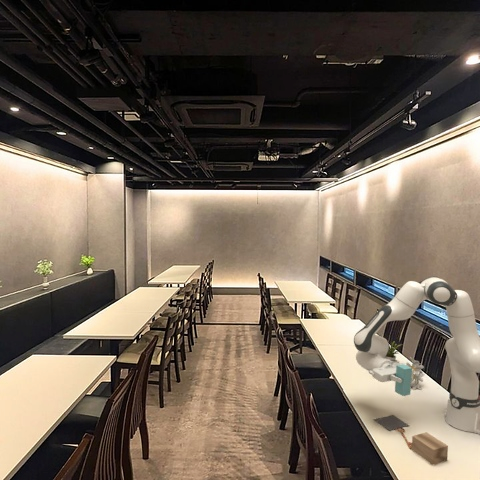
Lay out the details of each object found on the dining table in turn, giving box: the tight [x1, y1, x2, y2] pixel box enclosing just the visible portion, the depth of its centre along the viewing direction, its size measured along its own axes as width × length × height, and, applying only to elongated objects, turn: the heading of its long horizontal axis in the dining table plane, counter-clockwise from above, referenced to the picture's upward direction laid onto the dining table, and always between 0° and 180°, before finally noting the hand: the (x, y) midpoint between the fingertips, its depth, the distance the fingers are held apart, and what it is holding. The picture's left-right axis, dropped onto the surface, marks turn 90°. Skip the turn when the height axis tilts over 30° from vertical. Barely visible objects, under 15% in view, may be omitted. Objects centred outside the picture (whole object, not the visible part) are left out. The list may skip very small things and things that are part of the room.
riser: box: [411, 432, 449, 466], centre depth 149 cm, size 8×10×6 cm
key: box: [396, 427, 412, 450], centre depth 160 cm, size 6×1×15 cm
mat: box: [373, 414, 410, 432], centre depth 173 cm, size 12×10×1 cm
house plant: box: [385, 340, 404, 360], centre depth 246 cm, size 14×14×16 cm
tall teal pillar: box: [394, 363, 412, 397], centre depth 165 cm, size 4×4×12 cm
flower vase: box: [405, 356, 425, 391], centre depth 219 cm, size 13×18×25 cm
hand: (406, 380), depth 163 cm, fingers closed on tall teal pillar, 4 cm apart
